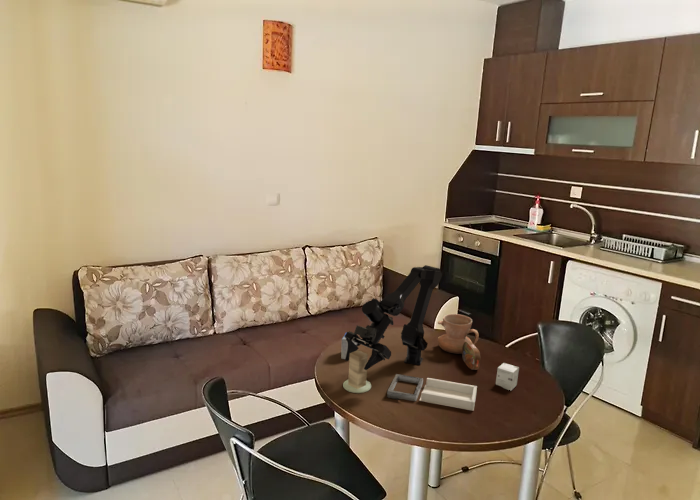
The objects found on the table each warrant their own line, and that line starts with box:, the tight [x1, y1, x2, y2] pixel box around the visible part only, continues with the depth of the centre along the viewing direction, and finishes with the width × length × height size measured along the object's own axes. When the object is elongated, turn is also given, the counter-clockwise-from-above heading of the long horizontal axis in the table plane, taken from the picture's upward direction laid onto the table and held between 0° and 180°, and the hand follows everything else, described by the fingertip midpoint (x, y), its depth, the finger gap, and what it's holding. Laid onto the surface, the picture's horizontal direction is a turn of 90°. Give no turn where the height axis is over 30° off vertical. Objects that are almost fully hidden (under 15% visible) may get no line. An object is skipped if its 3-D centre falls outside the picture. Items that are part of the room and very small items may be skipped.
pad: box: [342, 379, 372, 394], centre depth 183 cm, size 10×10×1 cm
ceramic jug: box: [437, 313, 480, 355], centre depth 217 cm, size 18×14×14 cm
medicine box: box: [340, 331, 348, 360], centre depth 208 cm, size 8×4×9 cm, turn 168°
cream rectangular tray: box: [419, 377, 478, 412], centre depth 176 cm, size 12×18×4 cm, turn 72°
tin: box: [461, 341, 482, 371], centre depth 203 cm, size 15×3×8 cm, turn 5°
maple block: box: [347, 349, 369, 389], centre depth 181 cm, size 4×4×12 cm
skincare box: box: [495, 362, 520, 392], centre depth 187 cm, size 6×6×7 cm
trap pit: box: [386, 373, 424, 402], centre depth 181 cm, size 14×10×2 cm
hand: (355, 365), depth 180 cm, fingers open, 9 cm apart
